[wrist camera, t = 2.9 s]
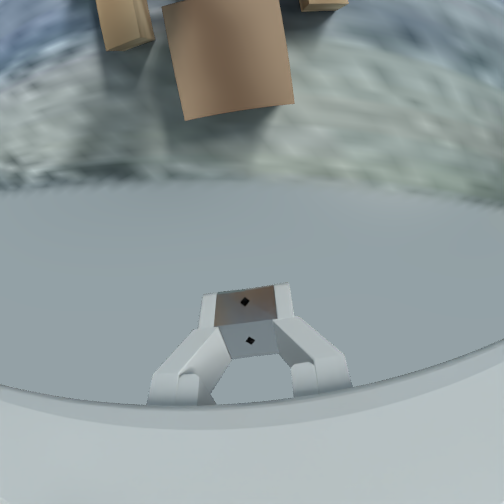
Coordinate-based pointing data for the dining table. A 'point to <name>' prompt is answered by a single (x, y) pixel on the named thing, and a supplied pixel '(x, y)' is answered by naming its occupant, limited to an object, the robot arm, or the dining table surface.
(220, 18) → the walnut block
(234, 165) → the dining table surface
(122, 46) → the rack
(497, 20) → the dining table surface
